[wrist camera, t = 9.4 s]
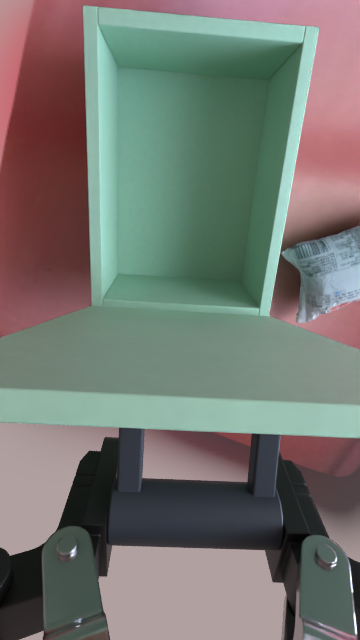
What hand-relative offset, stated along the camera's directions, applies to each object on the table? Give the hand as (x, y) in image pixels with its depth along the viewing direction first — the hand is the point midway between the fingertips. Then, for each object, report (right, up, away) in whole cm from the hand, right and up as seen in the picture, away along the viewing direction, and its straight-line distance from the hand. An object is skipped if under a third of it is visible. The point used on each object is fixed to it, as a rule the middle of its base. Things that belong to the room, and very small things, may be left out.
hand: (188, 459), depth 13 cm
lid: (0, +5, +5) cm, 7 cm away
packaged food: (+17, +11, +24) cm, 31 cm away
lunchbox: (0, +19, +20) cm, 28 cm away
